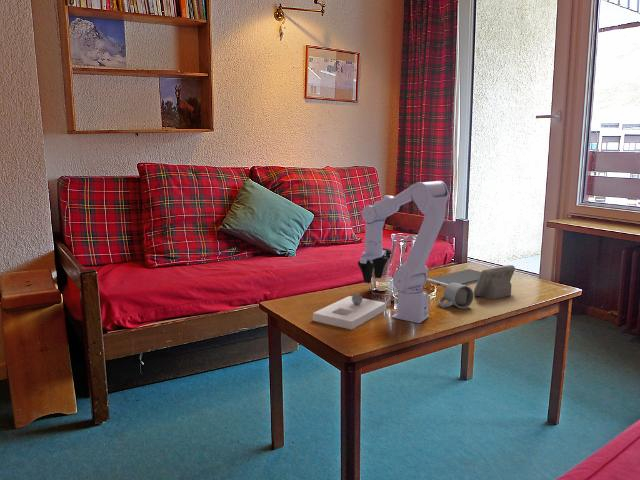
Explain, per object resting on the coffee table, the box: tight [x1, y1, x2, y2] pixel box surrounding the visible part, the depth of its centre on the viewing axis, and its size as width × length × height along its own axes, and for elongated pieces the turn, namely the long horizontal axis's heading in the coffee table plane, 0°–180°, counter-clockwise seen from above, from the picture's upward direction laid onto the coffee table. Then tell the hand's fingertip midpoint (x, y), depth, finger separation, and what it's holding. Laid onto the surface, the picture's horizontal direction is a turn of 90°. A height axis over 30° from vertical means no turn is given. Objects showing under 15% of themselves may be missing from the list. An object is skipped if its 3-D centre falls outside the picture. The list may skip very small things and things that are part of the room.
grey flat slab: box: [426, 268, 481, 288], centre depth 216 cm, size 13×27×2 cm, turn 126°
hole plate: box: [312, 295, 387, 330], centre depth 172 cm, size 14×22×2 cm, turn 146°
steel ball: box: [352, 293, 364, 305], centre depth 175 cm, size 4×4×4 cm
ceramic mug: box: [437, 283, 475, 309], centre depth 183 cm, size 11×8×8 cm
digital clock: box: [473, 264, 516, 300], centre depth 194 cm, size 16×9×11 cm, turn 109°
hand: (372, 280), depth 183 cm, fingers open, 7 cm apart
